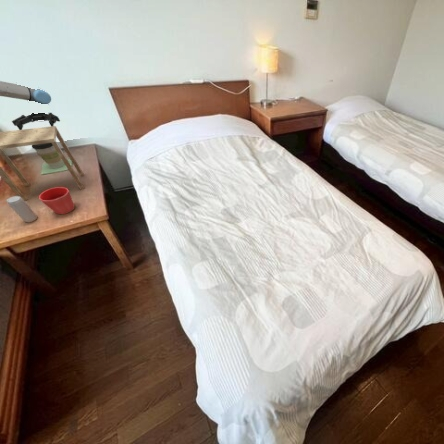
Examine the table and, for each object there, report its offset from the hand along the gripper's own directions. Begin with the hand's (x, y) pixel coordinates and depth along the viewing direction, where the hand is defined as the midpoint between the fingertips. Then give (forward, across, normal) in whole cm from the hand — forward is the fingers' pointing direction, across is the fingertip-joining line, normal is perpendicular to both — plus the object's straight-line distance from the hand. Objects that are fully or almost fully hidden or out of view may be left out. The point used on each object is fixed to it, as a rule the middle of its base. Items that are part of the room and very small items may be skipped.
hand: (35, 126), depth 136 cm
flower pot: (+53, -5, -22) cm, 58 cm away
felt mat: (+7, 0, -22) cm, 23 cm away
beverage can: (+55, +8, -22) cm, 60 cm away
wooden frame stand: (+30, 0, -22) cm, 37 cm away
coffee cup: (+7, 0, -22) cm, 23 cm away
